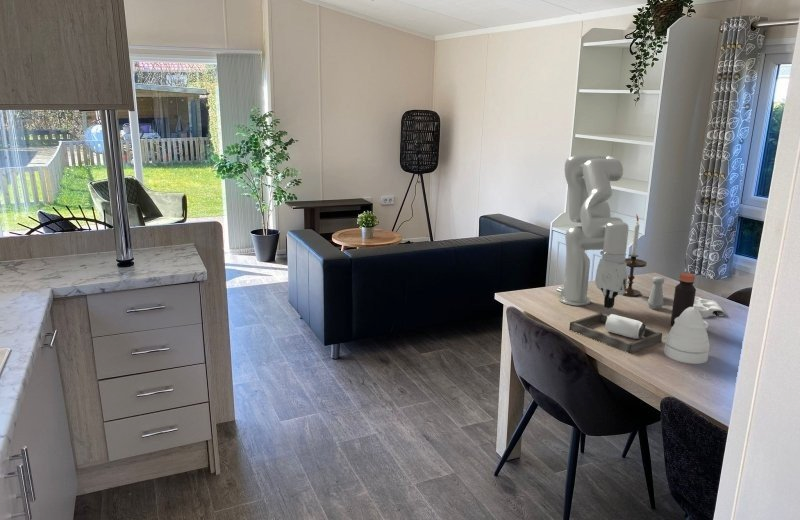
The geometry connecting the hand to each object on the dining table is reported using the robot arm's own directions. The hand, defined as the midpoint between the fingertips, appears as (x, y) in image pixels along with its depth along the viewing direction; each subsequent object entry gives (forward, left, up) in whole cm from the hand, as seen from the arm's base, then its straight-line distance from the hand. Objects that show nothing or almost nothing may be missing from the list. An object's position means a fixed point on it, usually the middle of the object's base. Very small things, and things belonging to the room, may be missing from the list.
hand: (608, 307), depth 208 cm
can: (-1, +2, -7) cm, 7 cm away
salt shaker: (-5, +39, -10) cm, 41 cm away
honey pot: (+27, +5, -10) cm, 29 cm away
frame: (+3, 0, -10) cm, 10 cm away
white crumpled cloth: (+7, +52, -10) cm, 53 cm away
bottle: (+12, +28, -10) cm, 32 cm away
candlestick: (-22, +47, -10) cm, 53 cm away
